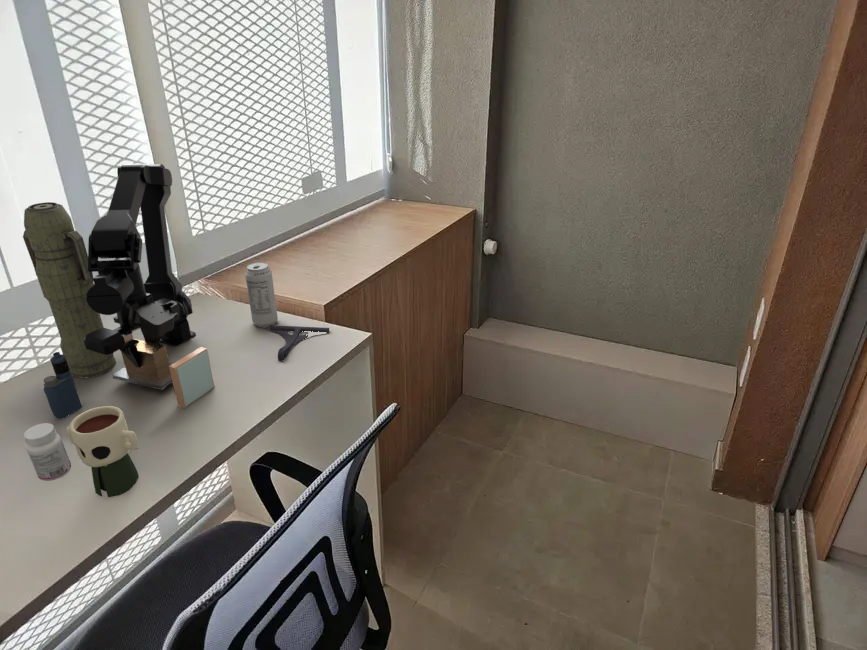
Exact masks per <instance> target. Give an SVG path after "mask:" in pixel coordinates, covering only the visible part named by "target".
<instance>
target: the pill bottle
mask: <svg viewBox="0 0 867 650" xmlns="http://www.w3.org/2000/svg"><path fill="white" fill-rule="evenodd" d="M23 437H24V440H25V443H26V446H25V449H26V452H27V454H28V457H29V460H30V461H31V464H32V466H33V469H34V471H35V473H36V475H37V478H38V479H39V480H40V481H43V482H50V481H51V482H53V481H56V480H58V479H61V478H63V477H64V476H65V475H67V474H68V473H69V472H70V471H71V469H72V463H71V459H70V458H69V454H68V453H67V450H66V448H65V445H64V441H63V439H62V437H61V435H59V434H58V433H57V431H56V428H55V427H54V425H53V424H52V423H45V422H43V423H38V424H35V425H34V426H31V427H30V428H28V429H27V430H26V431H25V432H24V434H23Z"/></svg>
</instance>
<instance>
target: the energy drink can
mask: <svg viewBox="0 0 867 650" xmlns="http://www.w3.org/2000/svg"><path fill="white" fill-rule="evenodd" d="M244 274H245V276H244V277H245V282H246V289H247V293H248V296H247V297H248V301H249V307H250V315H251V320H252V323H253V324H255V326H256V327H257V328H269V326H270V325H275V324H276V322H277V321H278V319H279V318H278V309H277V301H276V295H275V287H274V280H273V273H272V270H271V268H270V267H269V264H268V263H267V262H260V261H259V262H253V263H252V262H251V263H249V264H248V265H247V266H246V271H245V273H244Z"/></svg>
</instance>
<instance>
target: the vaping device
mask: <svg viewBox="0 0 867 650" xmlns="http://www.w3.org/2000/svg"><path fill="white" fill-rule="evenodd" d="M52 355H53V356H52V357H51V358H50V363H51V365H52V369H53V371H54V374H55V375H50V376H49V375H48V376H46V377H45V378H44V379H43V391H44V394H45V397H46V400H47V403H48V405H49V408H50V411H51V413H52V415H53V416H54V417H55V418H56V419H58V420H62V419H63V418H64V419H65V418H68V417H69V416H71V415H72V414H74V413H75V412H76V411H78V410H80V409H81V408H82V407H83V404H82V402H81V399H80V396H79V394H78V389H77V387H76V383H75V380H74V378H73V377H74V376H72V374H71V372H70V369H69V366H68V363H67V360H66V357H65V355H63V354H61V353H60V352H59V351H56V352H55V351H54V352H53V353H52ZM73 412H74V413H73ZM70 414H71V415H70ZM68 415H69V416H68ZM67 416H68V417H67Z"/></svg>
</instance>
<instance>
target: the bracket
mask: <svg viewBox="0 0 867 650" xmlns="http://www.w3.org/2000/svg"><path fill="white" fill-rule="evenodd" d="M329 329H330V327H314V326H300V325H299V326H296V325H293V326H292V325H277V324H276V325H275V324H274V325H270V326H269V327H268V331H269V332H271V333H273V332H274V334H277V335H278V334H279V335H278V336H281V337H282V338H283V339H284V342H285V345H283V346H282V347H281V348H279V349H278V350H277V351H278V352H277V360H278V361H282V360H284V361H285V359H286V358H287V356H288V354H289V353H290V352H291V350H292V348H293V347H294V346H296V345H297V344H299V343H300V342H302V341H304V340H306V339H305V338H307V337H308V335H307V336H306V334H307V333H305V334H302V333H301V332H302V331H303V332H304V331H311V332H312V331H313V332H318V331H319V332H328V333H329V331H328V330H329ZM290 331H294V332H292V334H291V332H290ZM300 333H301V334H300ZM299 334H300V335H299ZM303 339H304V340H303ZM307 339H308V338H307Z"/></svg>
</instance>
